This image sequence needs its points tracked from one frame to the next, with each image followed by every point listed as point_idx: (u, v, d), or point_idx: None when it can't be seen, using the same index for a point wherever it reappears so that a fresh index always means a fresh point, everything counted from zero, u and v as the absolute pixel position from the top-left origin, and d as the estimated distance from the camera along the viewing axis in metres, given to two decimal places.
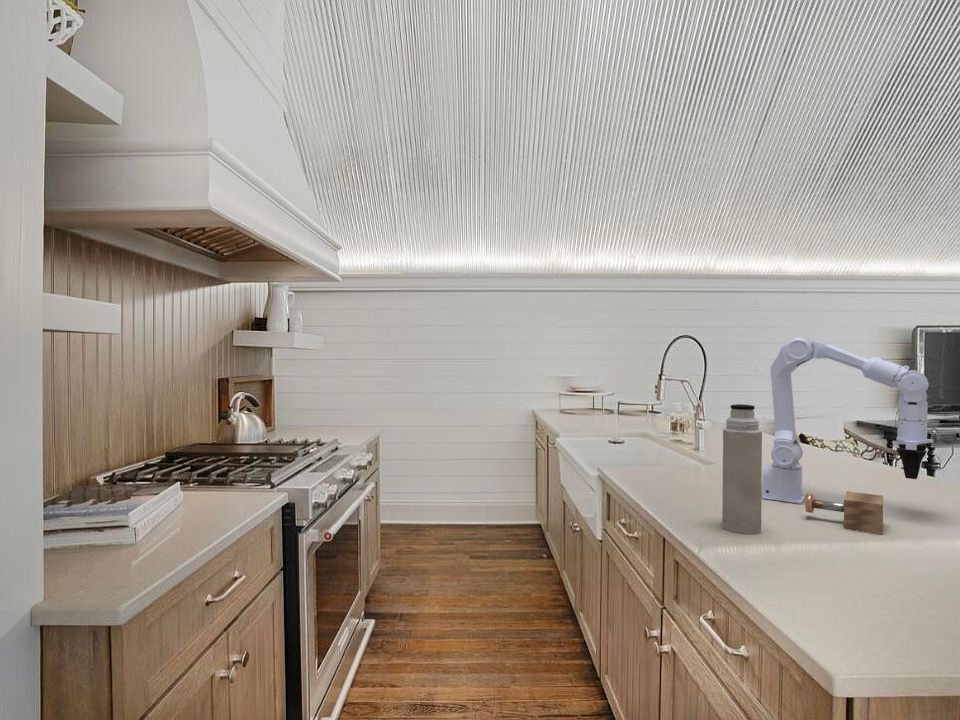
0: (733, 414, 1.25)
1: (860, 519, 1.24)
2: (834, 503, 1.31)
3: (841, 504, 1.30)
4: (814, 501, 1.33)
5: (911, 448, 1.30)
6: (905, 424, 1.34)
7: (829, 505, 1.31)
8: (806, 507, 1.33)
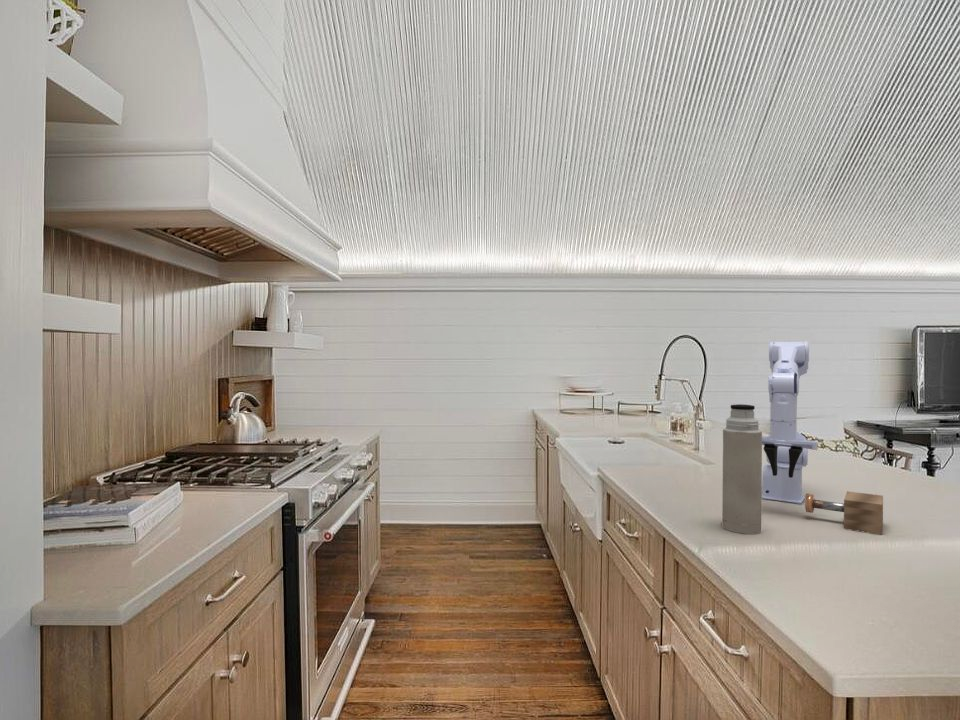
0: (733, 414, 1.25)
1: (860, 519, 1.24)
2: (834, 503, 1.31)
3: (841, 504, 1.30)
4: (814, 501, 1.33)
5: None
6: None
7: (829, 505, 1.31)
8: (806, 507, 1.33)
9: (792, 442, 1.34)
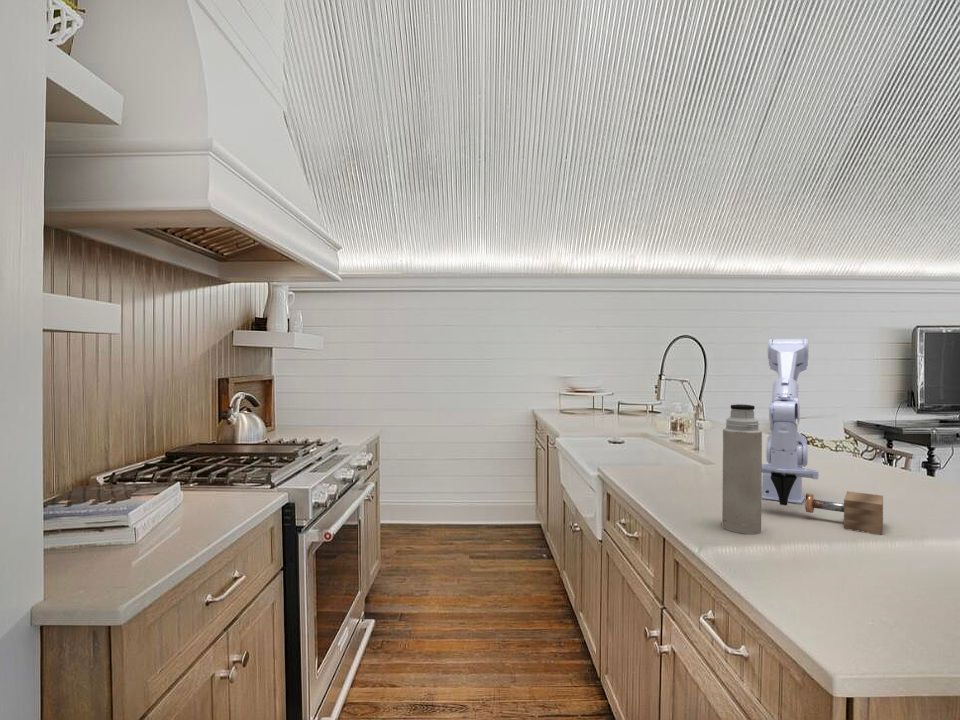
0: (733, 414, 1.25)
1: (860, 519, 1.24)
2: (834, 503, 1.31)
3: (841, 504, 1.30)
4: (814, 501, 1.33)
5: None
6: None
7: (829, 505, 1.31)
8: (806, 507, 1.33)
9: (793, 471, 1.34)
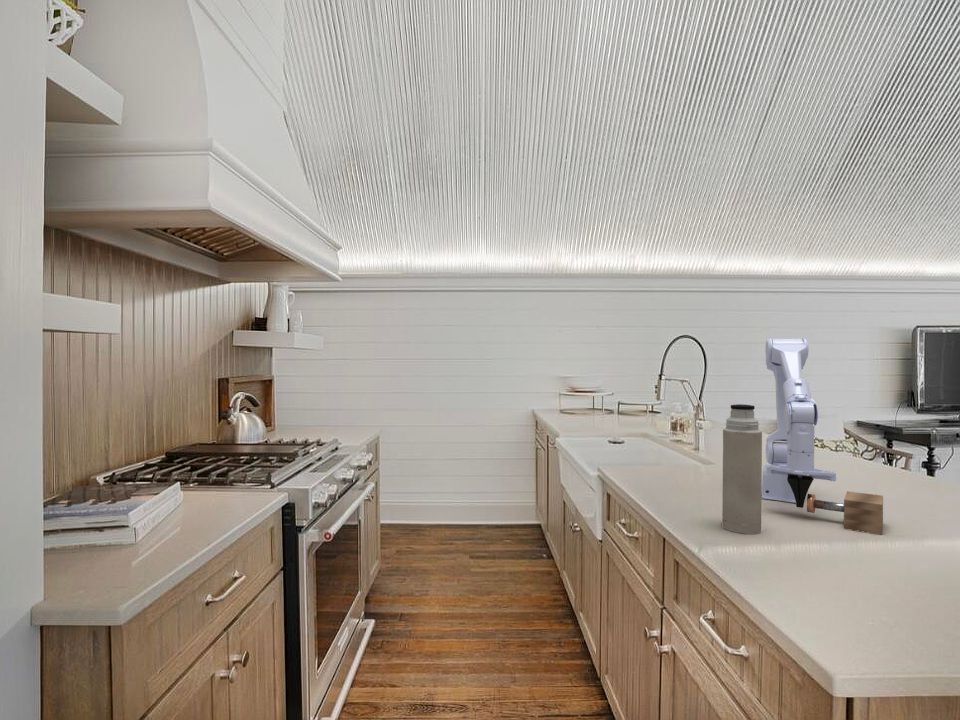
0: (733, 414, 1.25)
1: (860, 519, 1.24)
2: (835, 503, 1.30)
3: (842, 504, 1.30)
4: (815, 501, 1.33)
5: None
6: None
7: (831, 505, 1.31)
8: (807, 507, 1.32)
9: (810, 473, 1.32)
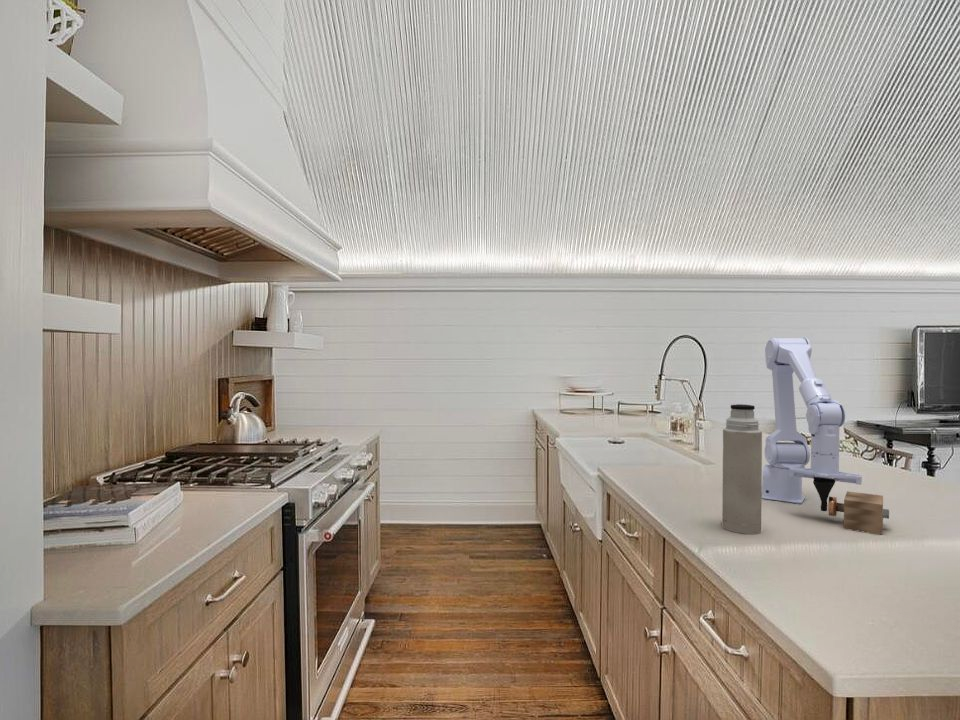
0: (733, 414, 1.25)
1: (860, 519, 1.24)
2: None
3: None
4: (837, 504, 1.30)
5: None
6: None
7: None
8: (829, 510, 1.30)
9: (835, 476, 1.29)
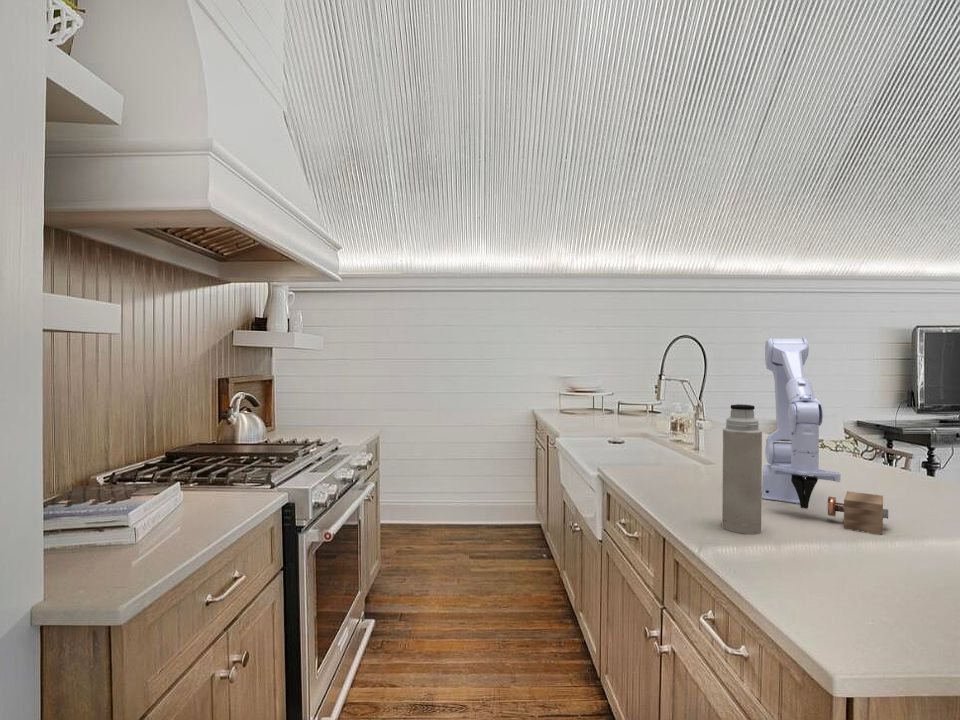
0: (733, 414, 1.25)
1: (860, 519, 1.24)
2: None
3: None
4: (836, 504, 1.30)
5: None
6: None
7: None
8: (828, 510, 1.30)
9: (814, 474, 1.31)
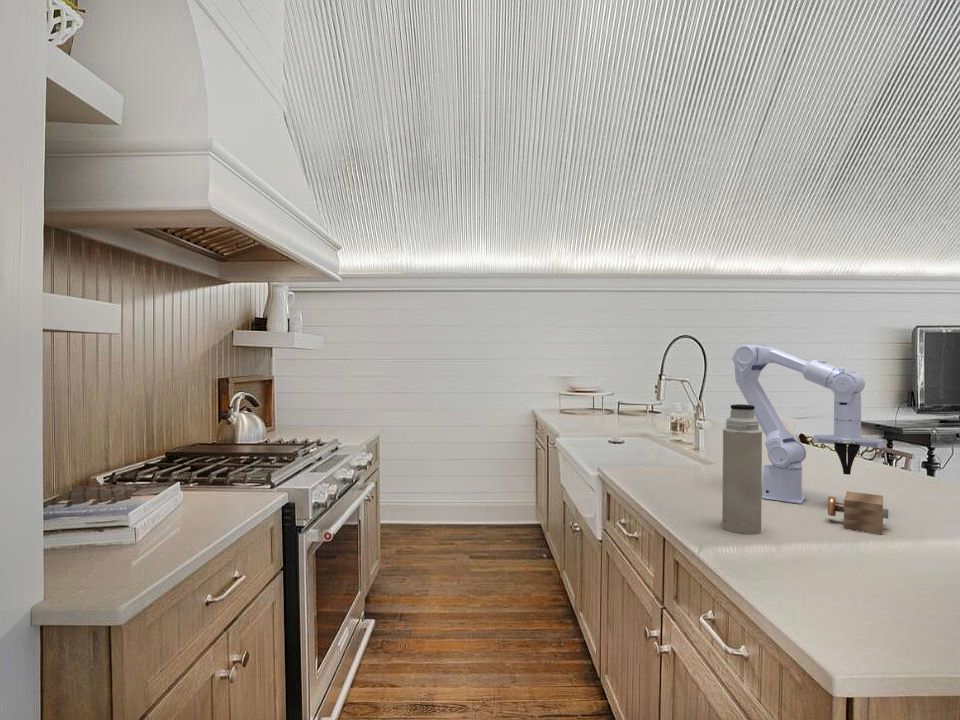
0: (733, 414, 1.25)
1: (860, 519, 1.24)
2: None
3: None
4: (836, 504, 1.30)
5: None
6: None
7: None
8: (828, 510, 1.30)
9: (857, 440, 1.37)
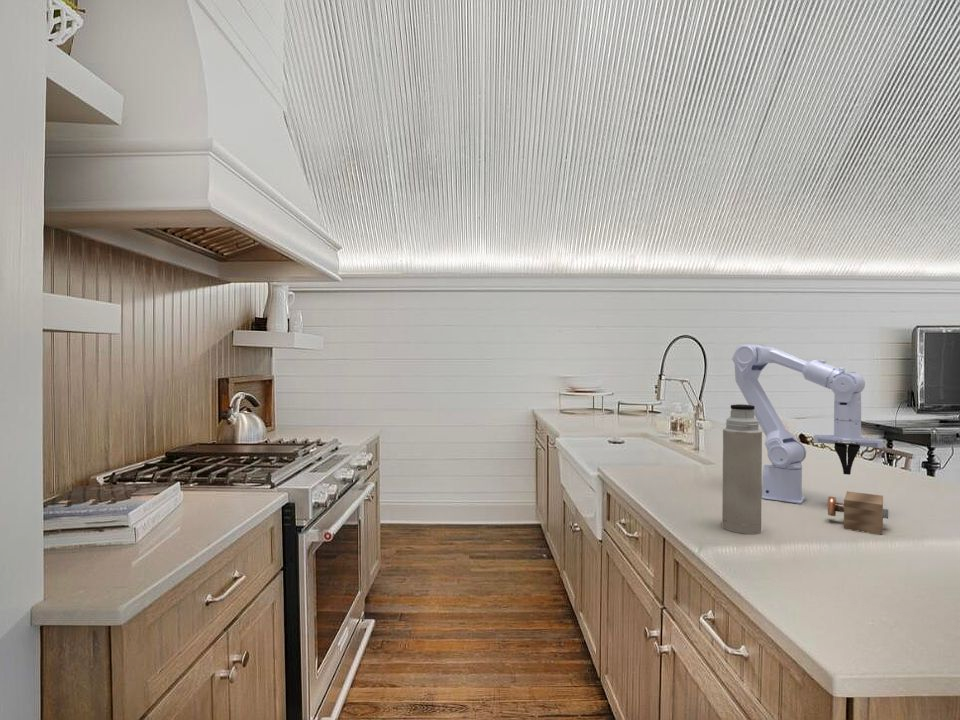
0: (733, 414, 1.25)
1: (860, 519, 1.24)
2: None
3: None
4: (836, 504, 1.30)
5: None
6: None
7: None
8: (828, 510, 1.30)
9: (857, 441, 1.37)
